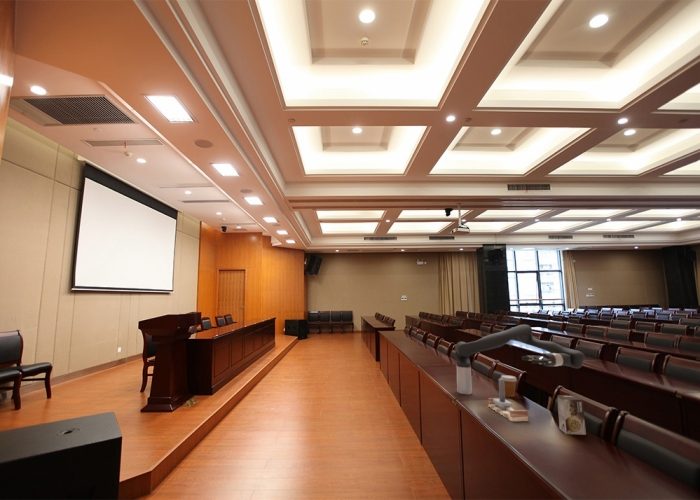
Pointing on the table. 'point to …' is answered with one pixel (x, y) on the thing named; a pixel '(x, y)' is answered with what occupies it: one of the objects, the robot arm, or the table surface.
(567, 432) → the coffee box
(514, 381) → the disposable coffee cup
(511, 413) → the rail bed
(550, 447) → the table surface
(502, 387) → the carriage
